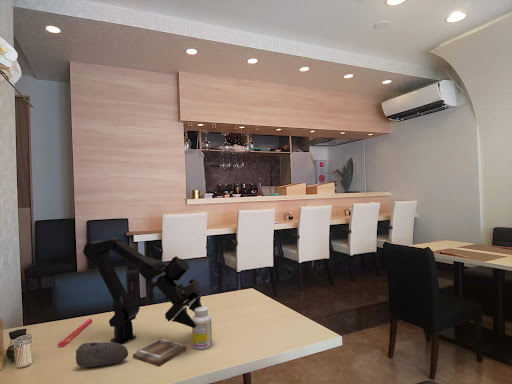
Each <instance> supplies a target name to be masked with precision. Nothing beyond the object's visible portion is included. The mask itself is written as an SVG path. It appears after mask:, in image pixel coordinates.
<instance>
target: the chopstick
mask: <svg viewBox="0 0 512 384" xmlns="http://www.w3.org/2000/svg"><path fill="white" fill-rule="evenodd" d="M92 322H93V319H92V318H91V317H88V318H87V319H86V320H85V321H84V322H82V323H81V324H80V325H79V326H78V327H77V328H75V329H74V330H72V331H71V332H70V333H69V334H67V336H65V337H63V339H62V340H60V341H59V342H58V343H57V346H58V348H64V347H66V345H67V344H69V343H70V342H71V341H72V340H73V339H74V338H75V337H76V336H77V335H78V334H80V332H82V331H83V330H84V329H85V328H86V327H88V326H89V324H91V323H92Z"/></svg>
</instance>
